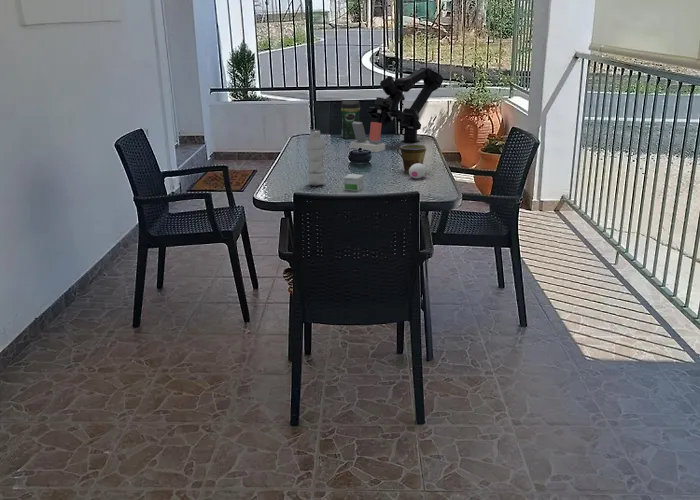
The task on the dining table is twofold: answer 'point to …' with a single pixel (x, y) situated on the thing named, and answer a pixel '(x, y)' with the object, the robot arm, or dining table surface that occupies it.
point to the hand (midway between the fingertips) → (377, 129)
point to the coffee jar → (349, 117)
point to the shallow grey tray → (368, 146)
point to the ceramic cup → (412, 155)
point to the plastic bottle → (315, 159)
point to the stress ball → (417, 171)
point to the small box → (353, 182)
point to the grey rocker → (359, 131)
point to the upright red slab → (375, 132)
